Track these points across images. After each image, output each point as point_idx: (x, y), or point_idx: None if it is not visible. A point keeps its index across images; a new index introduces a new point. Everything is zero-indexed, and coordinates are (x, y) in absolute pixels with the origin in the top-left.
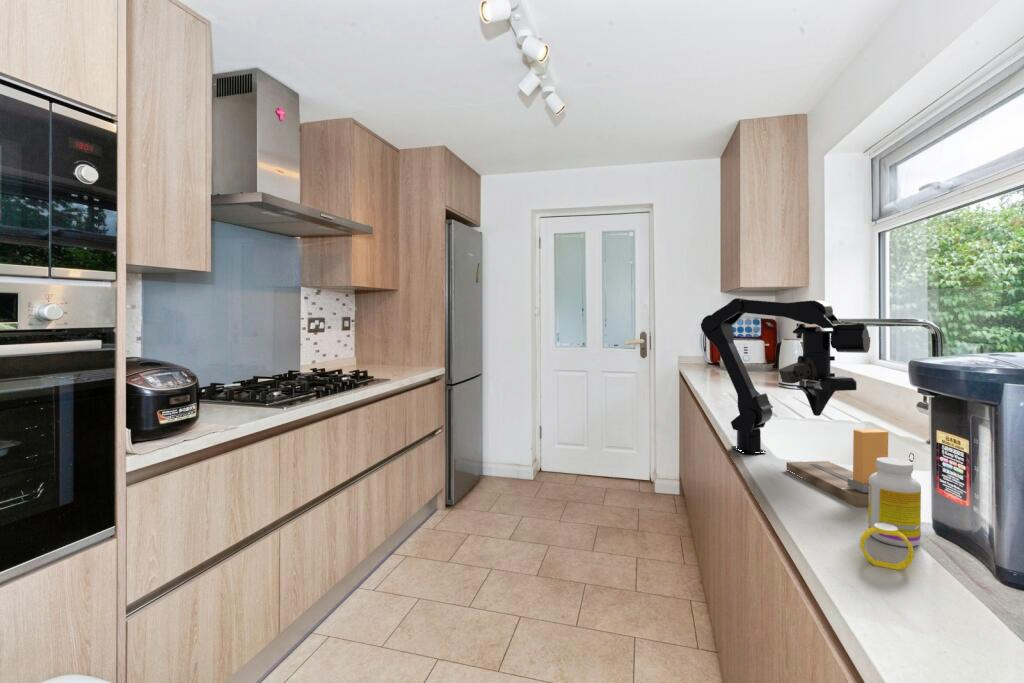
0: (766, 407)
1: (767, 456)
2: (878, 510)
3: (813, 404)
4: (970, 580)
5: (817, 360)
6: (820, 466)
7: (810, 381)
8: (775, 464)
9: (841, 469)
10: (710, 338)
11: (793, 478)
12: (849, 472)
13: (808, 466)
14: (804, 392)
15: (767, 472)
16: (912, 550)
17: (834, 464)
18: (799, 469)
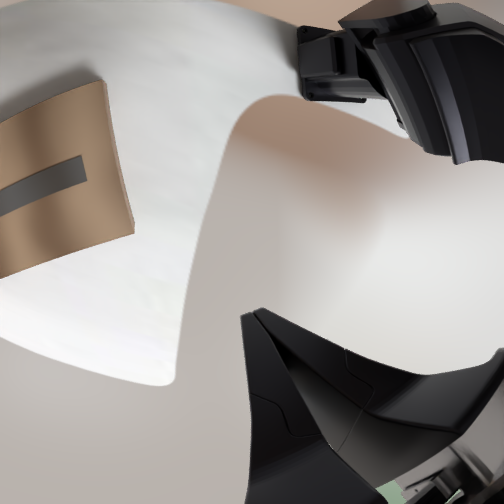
0: (445, 100)
1: (277, 89)
2: None
3: (279, 365)
4: None
5: None
6: (57, 185)
7: (453, 488)
8: (181, 71)
9: (46, 242)
10: None
11: (32, 88)
12: (24, 253)
13: (56, 144)
14: (427, 377)
15: (91, 23)
16: None
17: (97, 240)
18: (32, 107)
